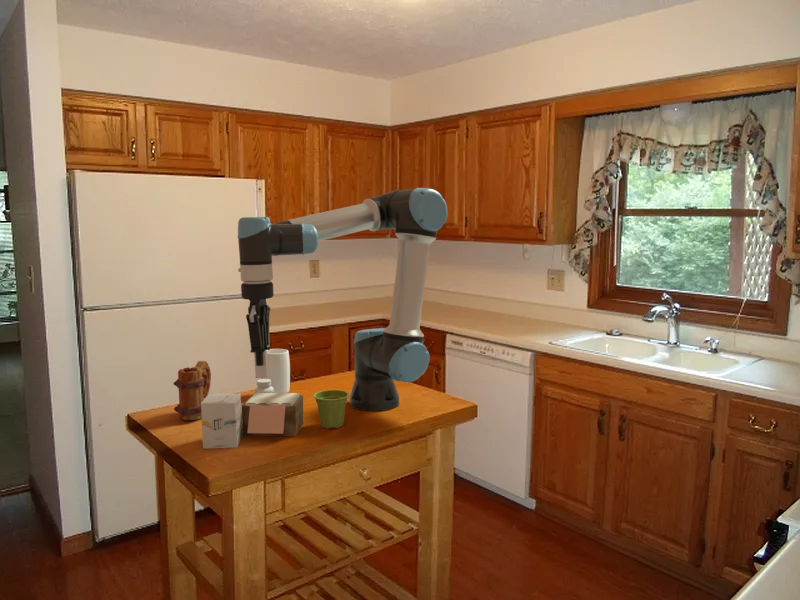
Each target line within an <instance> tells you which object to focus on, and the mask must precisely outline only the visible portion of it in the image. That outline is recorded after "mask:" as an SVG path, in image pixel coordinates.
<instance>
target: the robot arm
mask: <svg viewBox="0 0 800 600" xmlns="http://www.w3.org/2000/svg"><path fill="white" fill-rule="evenodd" d="M448 215H449V214H448V206H447V203H446V201H445V199H444V197H443V195H441V193H440V192H439V191H437V190H436V189H433V188H428V187H427V188H426V187H417V188H408V189H396V190H392V191H389V192H386V193H383V194H380V195H376V196H373V197H370V198H365V199H364V200H363V201H362V203H359V204H355V205H350V206H346V207H342V208H341V207H340V208H336V209H332V210H327V211H323V212H318V213H313V214H309V215H304V216H299V217H295V218H291V219H286V220H282V221H278V222H273V223H271V219H270V218H269V217H268V216H245V217H244V216H243V217H241V218H239V220H238V222H237V239H238V241H237V242H238V252H239V268H238V269H237V271H238V273H240V281H241V282H242V283H241V284H240V290H241V291H240V294H241V298H242V299H244V300H248V301H249V305H248V307H247V308H248V309H247V312H248V313H247V314H246V316H245V318H246V319H245V320H246V322H247V326H248V335H249V341H250V351H249V352H250V353H251V354H252V353H254V369H255V371H254V372H255V375H254V376H255V379H264V378H267V377H268V363H267V351H266V350H270V349H271V346H270V313H271V312H270V311H271V308H270V306H269V304H267V300H268V299H272V298H273V297H274V283H273V282H272V280H273V279H274V274H273V271H274V270H273V257H274V256H275V257H276V256H293V255H295V256H296V255H303V256H304V255H309V254H313V253H315V252H316V251H317V249H318V245H319V242H322V241H325V240H330V239H334V238H337V237H343V236H346V235H350V234H354V233H358V232H362V231H367V230H369V231H371V232H376V231H380V230H381V231H383V230H395V236H396V237H397V239H398V240H399V241H398V242H399V243H398V244H399V245H398V253H397V262H396V269H395V277H394V283H393V284H394V285H393V286H394V287H393V292H392V301H391V310H390V315H389V316H390V318H389V324H388V326H387V327H379V328H370V329H369V328H368V329H362V330H358V331H356V332H355V334H354V340H353V341H354V342H353V345H354V382H353V385H352V387H351V391H350V393H349V397H348V399H349V406H350V407H351V408H353V409H356V410H360V411H368V412H369V411H370V412H374V411H375V412H380V411H387V410H392V409H395V408H396V407H398V406H399V404H400V395H399V391H398V389H397V386H396V382H403V383H412V382H414V381H417V380H418V379H420V377H421V376H423V375H424V374H425V373H426V371H427V369H428V367H429V363H430V353H429V351H428V348H427V347H426V345H425V344H424V340H425V339H424V337H425V335H424V333H423V332H422V329H420V327H421V321H422V320H421V319H422V313H423V305H424V304H423V303H424V295H425V289H426V288H425V287H426V280H427V279H426V278H427V271H428V263H429V254H430V247H431V244H432V243H433V242H435V241H436V240H437V234H438V231H439V230H440V229H442V227H443V226H444V225H445V224H446V222H447V219H448Z"/></svg>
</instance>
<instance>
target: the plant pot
mask: <svg viewBox="0 0 800 600" xmlns="http://www.w3.org/2000/svg"><path fill="white" fill-rule="evenodd" d="M349 397H350V393H349V392H348V391H345V390H342V389H326V390H320V391H318V392H316V393H314V395H313V398H314V399H315V402H316V404H317V409H318V410H317V411H318V416H319V420H320V422H319V423H320V426H321V428H324V429H332V428H335V429H339V428H340V427H343V425H344V423H345V422H344V421H345V413H346V405H347V401H348V398H349Z"/></svg>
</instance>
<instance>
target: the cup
mask: <svg viewBox="0 0 800 600" xmlns="http://www.w3.org/2000/svg"><path fill="white" fill-rule="evenodd" d="M265 351H267V363H268V377H267V378H263V379H270V380H271V385H270V386H271V387H273V388H274V393H290V392H289V391H290V387H291V386H290V385H291V383H290V382H291V362H290V354H289V350H288V349H285V348H270V350H265Z"/></svg>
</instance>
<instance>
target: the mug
mask: <svg viewBox="0 0 800 600" xmlns="http://www.w3.org/2000/svg"><path fill="white" fill-rule="evenodd" d="M211 380H212V373H211V369H210V366H209V363H208V361H205V360H198V361H197V362H196V364H195V366H192V367H189V366H188V367H183V368H181V369H179V370H178V371H177V379H176V380H175V381H174V382H173V386H175V387H176V388H178V403H177V405H176V406H175V407H174V408H173V409H174V411H175V412H176V413H177V414H178V415H179V418H180V419H181V420H183V421H196V420H200V419H202V413H201V403H202V401H203V400H204V399H205V398H206V397H207V396H208V395H209V392H210V388H211Z"/></svg>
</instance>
